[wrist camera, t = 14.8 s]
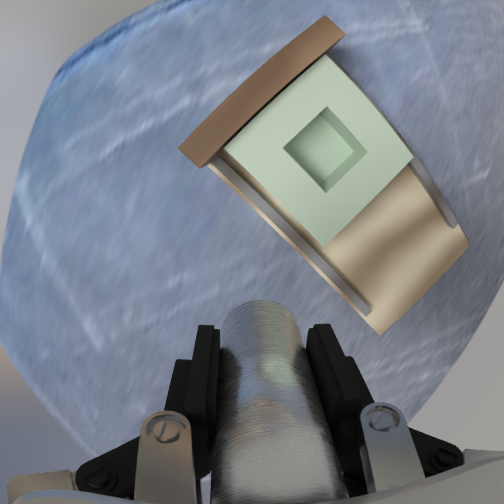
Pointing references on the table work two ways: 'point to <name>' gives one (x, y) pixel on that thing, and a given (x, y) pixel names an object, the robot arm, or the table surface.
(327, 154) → the sliding block
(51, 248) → the table surface
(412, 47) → the table surface
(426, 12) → the table surface
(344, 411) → the robot arm
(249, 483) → the grey round-ended peg
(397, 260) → the rail board
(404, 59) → the table surface
